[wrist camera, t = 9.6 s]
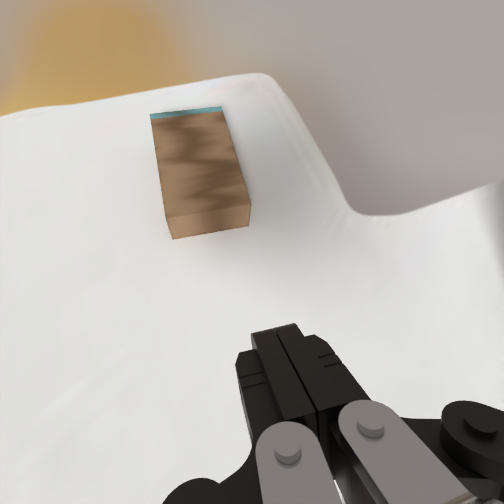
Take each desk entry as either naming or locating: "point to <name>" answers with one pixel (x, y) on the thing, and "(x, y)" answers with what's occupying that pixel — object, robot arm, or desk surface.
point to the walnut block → (199, 172)
